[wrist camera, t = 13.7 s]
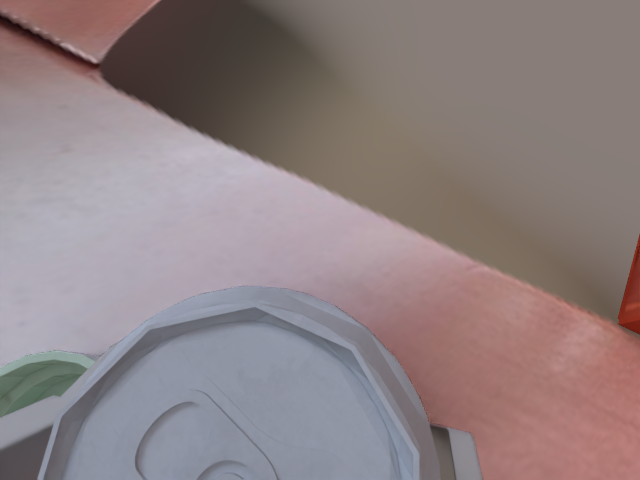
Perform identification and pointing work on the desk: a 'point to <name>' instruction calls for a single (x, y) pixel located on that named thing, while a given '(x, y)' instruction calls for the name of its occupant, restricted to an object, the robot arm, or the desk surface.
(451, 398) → the desk surface
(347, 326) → the white cylindrical canister
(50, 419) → the robot arm
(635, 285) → the red tall rectangular block
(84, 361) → the celadon bowl
